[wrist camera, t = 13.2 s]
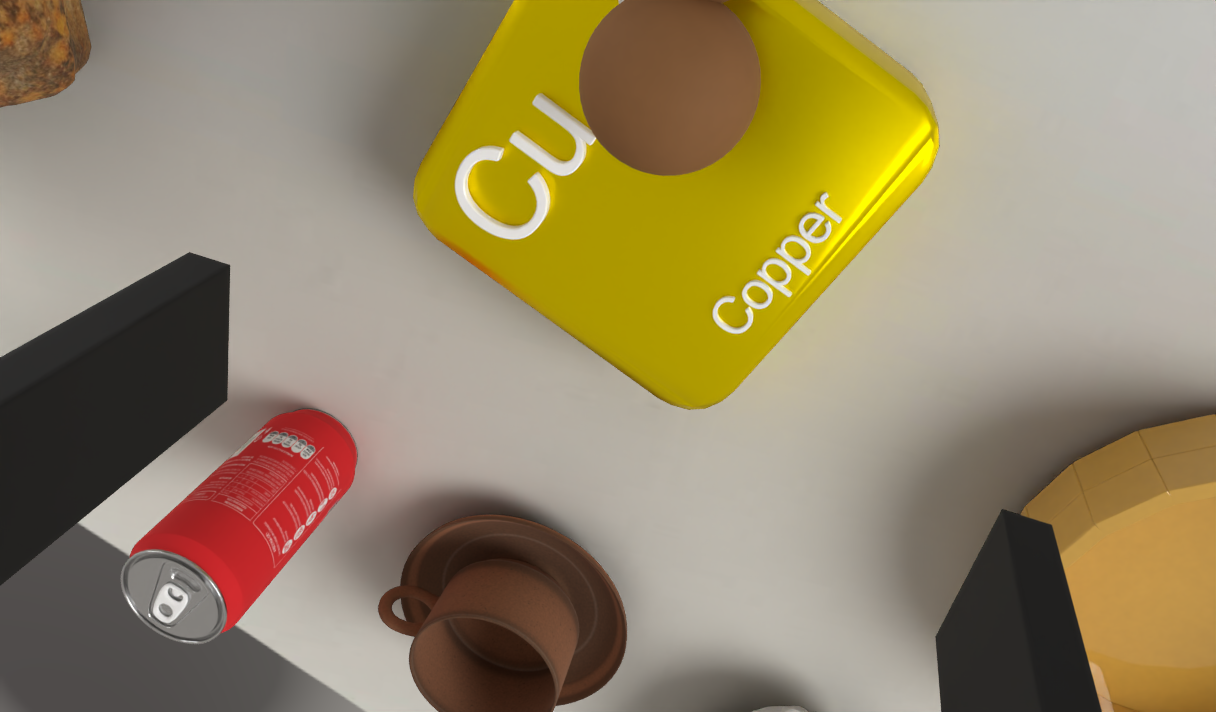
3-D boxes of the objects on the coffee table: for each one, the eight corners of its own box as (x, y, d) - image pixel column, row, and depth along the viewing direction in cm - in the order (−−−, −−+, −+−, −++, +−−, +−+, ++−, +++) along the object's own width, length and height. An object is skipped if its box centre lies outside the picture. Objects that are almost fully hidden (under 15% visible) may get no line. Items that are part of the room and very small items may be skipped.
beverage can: (382, 444, 49) (250, 600, 38) (337, 506, 51) (202, 668, 41) (296, 382, 48) (139, 523, 38) (256, 447, 51) (98, 597, 40)
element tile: (713, 383, 43) (697, 438, 39) (434, 179, 42) (386, 214, 37) (957, 107, 36) (970, 137, 31) (626, -149, 34) (594, -152, 30)
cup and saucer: (433, 668, 55) (386, 754, 49) (397, 489, 50) (340, 563, 44) (641, 692, 52) (616, 787, 46) (626, 504, 47) (595, 586, 41)
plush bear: (580, 136, 34) (646, -168, 30) (736, 177, 33) (822, -125, 30) (544, 164, 29) (618, -198, 25) (727, 213, 28) (830, -147, 25)
